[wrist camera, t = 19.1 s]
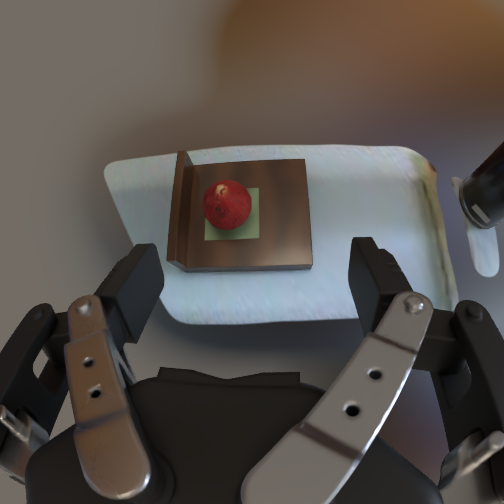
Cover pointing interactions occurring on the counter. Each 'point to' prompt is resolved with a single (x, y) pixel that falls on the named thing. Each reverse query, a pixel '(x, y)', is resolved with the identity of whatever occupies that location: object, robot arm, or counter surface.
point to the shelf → (253, 229)
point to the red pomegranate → (226, 204)
